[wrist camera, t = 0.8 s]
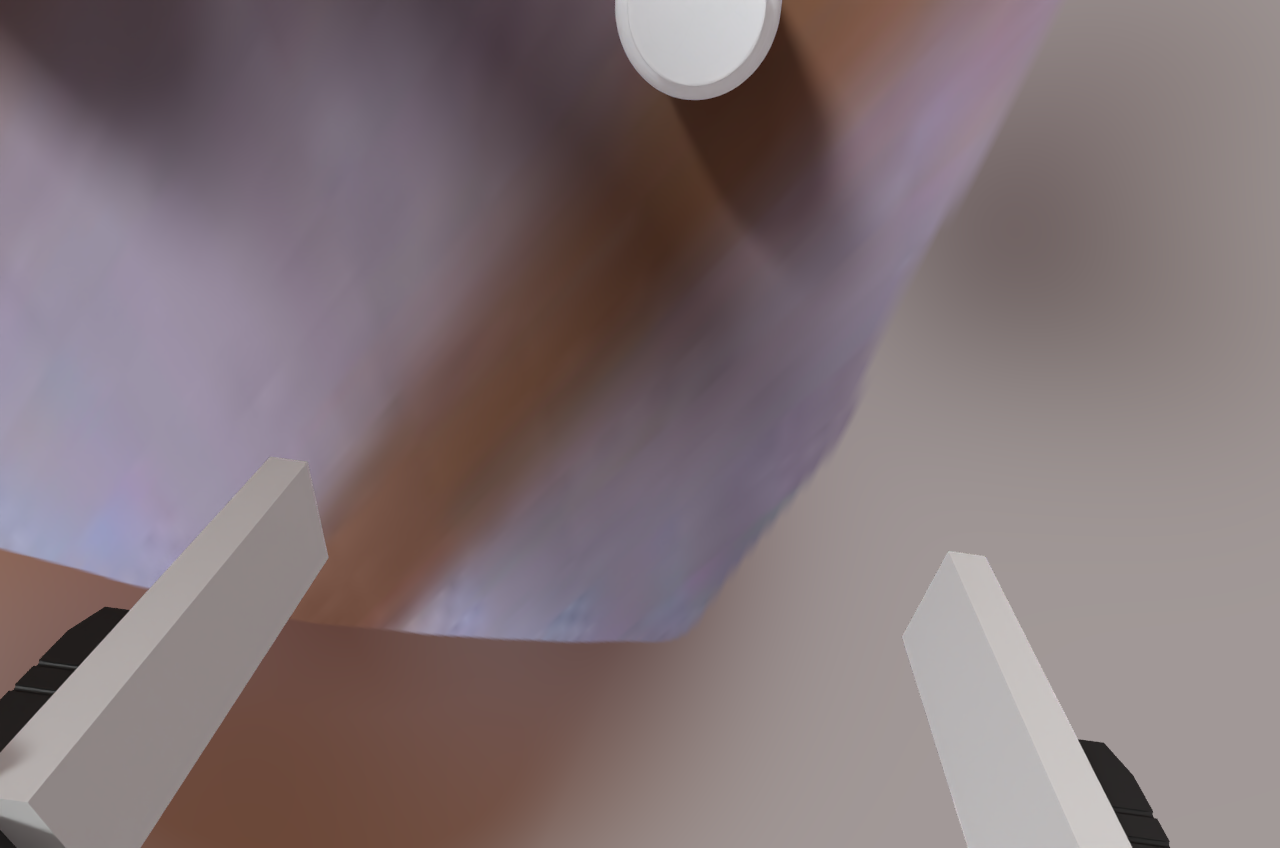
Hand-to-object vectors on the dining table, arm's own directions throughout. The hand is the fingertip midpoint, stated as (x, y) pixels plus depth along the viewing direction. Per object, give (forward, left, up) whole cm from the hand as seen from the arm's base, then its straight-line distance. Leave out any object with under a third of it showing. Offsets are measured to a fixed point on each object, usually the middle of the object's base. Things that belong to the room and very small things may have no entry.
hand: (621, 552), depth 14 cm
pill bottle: (-8, +5, -22) cm, 24 cm away
